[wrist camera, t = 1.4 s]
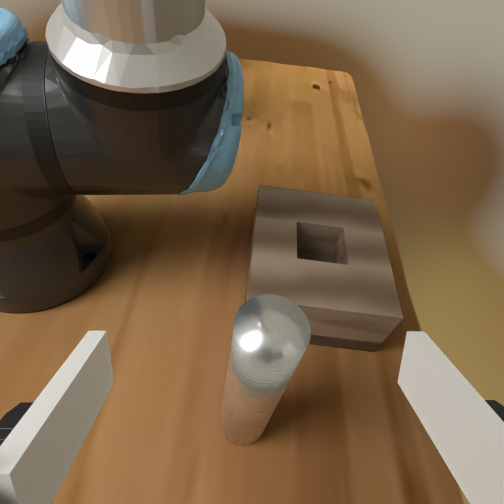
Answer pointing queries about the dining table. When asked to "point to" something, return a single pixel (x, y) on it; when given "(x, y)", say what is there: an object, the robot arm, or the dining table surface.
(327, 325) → the socket block
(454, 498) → the dining table surface
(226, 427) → the steel pin
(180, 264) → the dining table surface
